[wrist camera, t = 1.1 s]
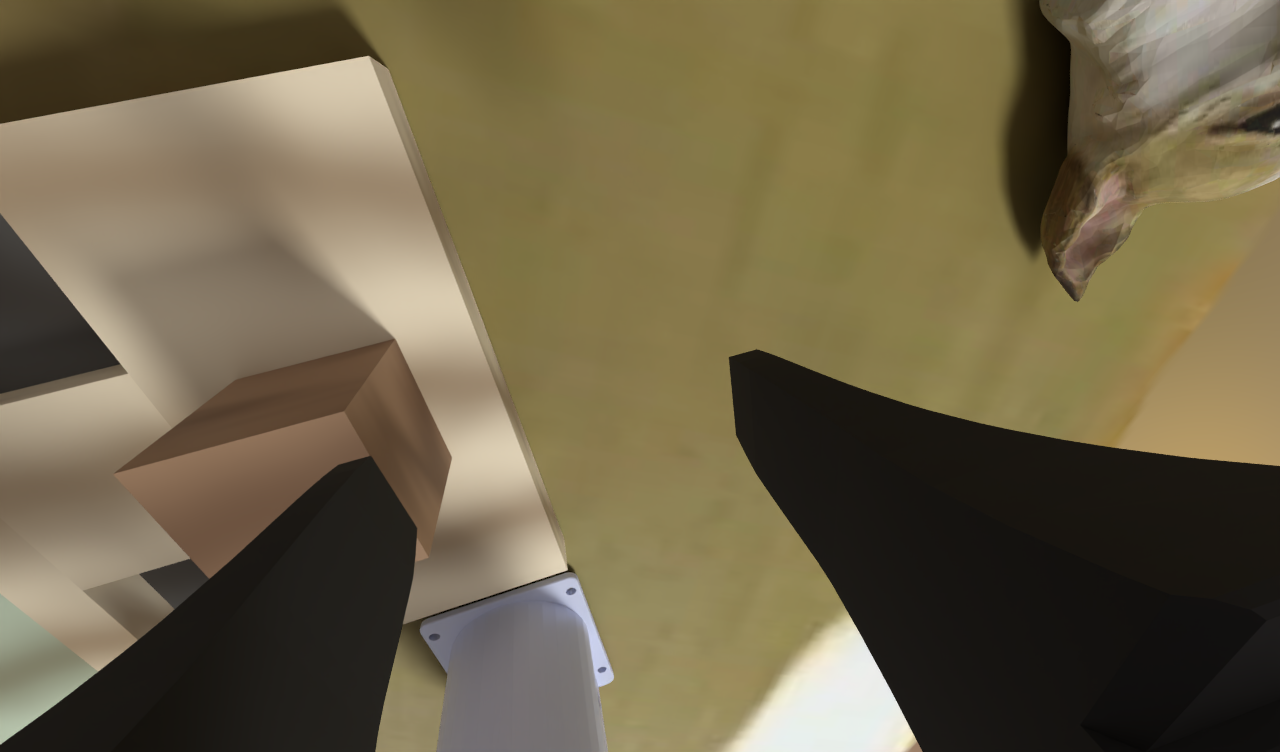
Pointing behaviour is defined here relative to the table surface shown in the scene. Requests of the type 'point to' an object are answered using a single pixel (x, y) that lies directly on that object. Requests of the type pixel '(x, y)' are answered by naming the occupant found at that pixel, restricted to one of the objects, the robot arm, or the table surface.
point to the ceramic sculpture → (1158, 116)
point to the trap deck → (222, 342)
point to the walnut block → (290, 450)
